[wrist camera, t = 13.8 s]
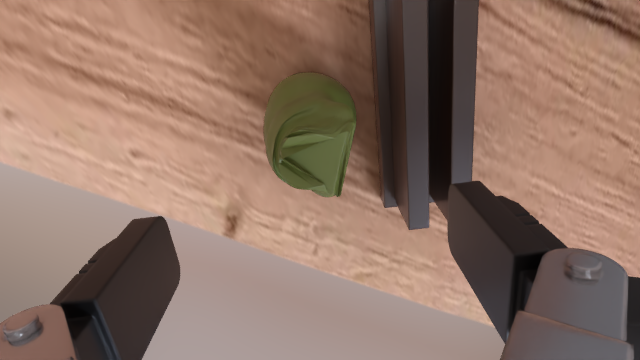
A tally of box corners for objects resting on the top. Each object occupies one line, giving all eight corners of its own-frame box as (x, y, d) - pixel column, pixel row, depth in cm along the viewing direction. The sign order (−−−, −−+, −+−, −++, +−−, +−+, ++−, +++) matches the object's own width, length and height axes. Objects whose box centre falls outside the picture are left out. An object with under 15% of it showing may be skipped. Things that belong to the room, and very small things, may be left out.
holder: (454, -30, 23) (496, -43, 17) (450, 190, 28) (482, 229, 23) (367, -19, 23) (385, -29, 18) (380, 198, 28) (397, 239, 23)
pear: (275, 58, 24) (256, 85, 15) (359, 74, 25) (391, 109, 15) (264, 144, 26) (241, 214, 17) (341, 157, 27) (360, 231, 18)
